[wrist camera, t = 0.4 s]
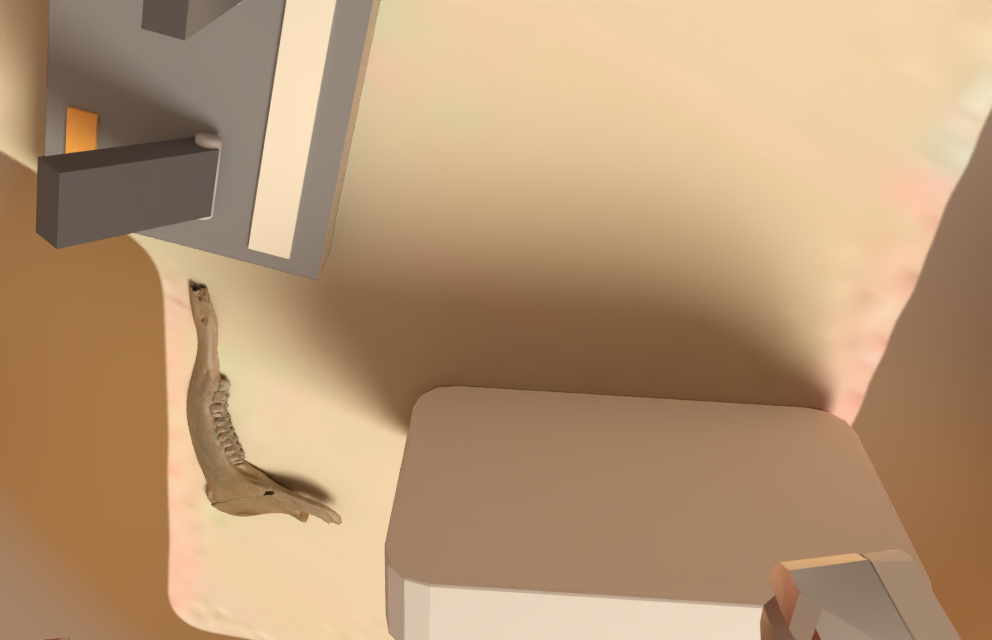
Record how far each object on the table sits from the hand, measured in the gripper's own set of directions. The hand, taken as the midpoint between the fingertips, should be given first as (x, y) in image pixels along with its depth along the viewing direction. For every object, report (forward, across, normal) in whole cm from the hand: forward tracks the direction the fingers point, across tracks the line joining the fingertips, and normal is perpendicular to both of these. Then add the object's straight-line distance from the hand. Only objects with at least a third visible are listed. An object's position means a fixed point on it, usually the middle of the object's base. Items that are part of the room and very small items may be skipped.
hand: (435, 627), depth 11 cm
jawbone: (+43, +11, +33) cm, 55 cm away
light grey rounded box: (+39, -14, +34) cm, 53 cm away
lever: (+40, +11, +14) cm, 44 cm away
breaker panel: (+45, +10, +9) cm, 47 cm away
